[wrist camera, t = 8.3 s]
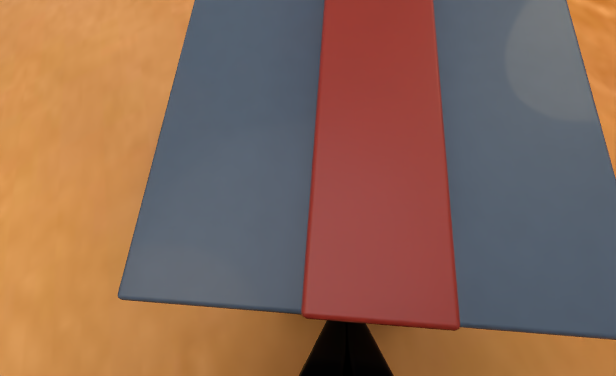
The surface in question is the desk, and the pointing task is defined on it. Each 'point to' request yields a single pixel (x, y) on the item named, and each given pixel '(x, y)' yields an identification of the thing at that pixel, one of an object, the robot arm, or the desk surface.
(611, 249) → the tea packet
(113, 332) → the desk surface
